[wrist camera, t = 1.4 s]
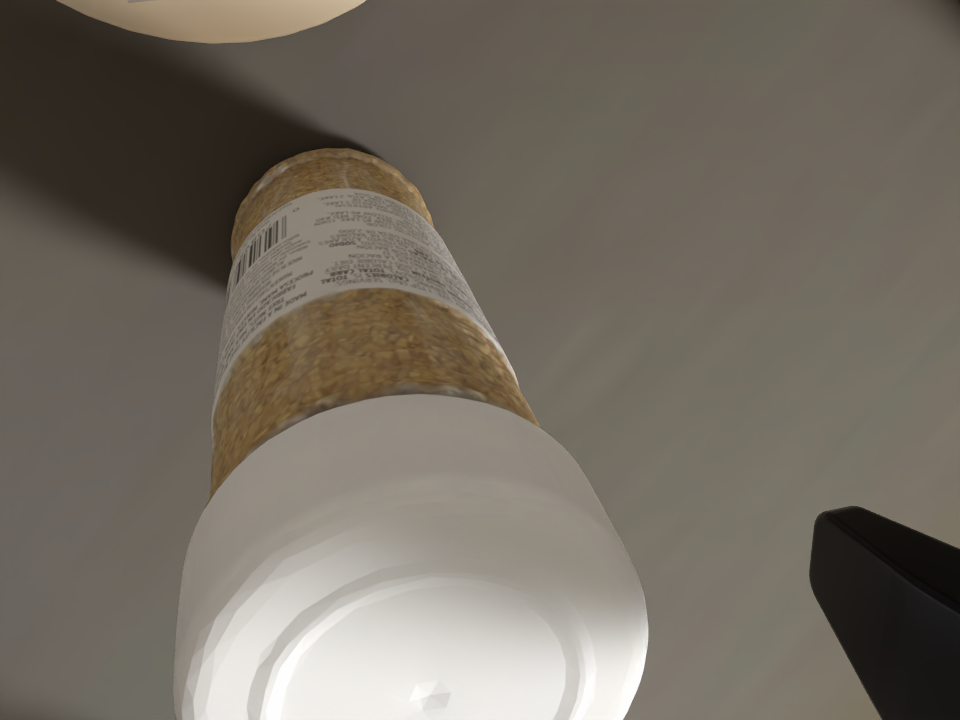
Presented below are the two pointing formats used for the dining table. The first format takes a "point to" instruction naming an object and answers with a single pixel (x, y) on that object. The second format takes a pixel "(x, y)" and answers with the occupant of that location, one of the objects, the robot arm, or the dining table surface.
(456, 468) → the sprinkles bottle
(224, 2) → the collar socket
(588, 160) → the dining table surface
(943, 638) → the robot arm
